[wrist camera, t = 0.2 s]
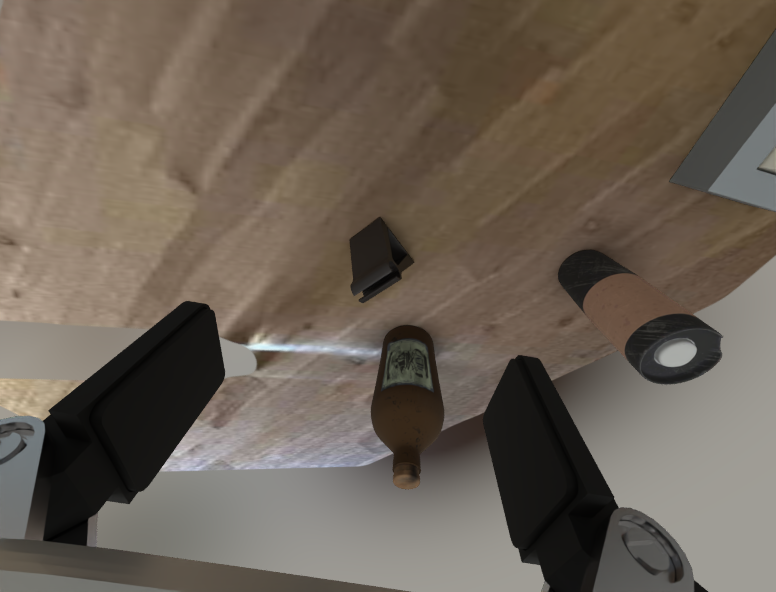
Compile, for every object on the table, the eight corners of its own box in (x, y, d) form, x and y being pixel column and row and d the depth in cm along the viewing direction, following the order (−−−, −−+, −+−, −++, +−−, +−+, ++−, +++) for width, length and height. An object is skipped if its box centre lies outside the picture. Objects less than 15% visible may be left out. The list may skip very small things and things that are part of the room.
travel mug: (546, 283, 48) (620, 373, 31) (576, 240, 45) (680, 316, 27) (587, 297, 49) (682, 393, 32) (620, 257, 45) (748, 341, 28)
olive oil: (435, 366, 59) (449, 508, 37) (381, 365, 60) (365, 503, 38) (437, 322, 54) (455, 458, 32) (378, 321, 54) (357, 453, 33)
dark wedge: (414, 261, 48) (415, 300, 38) (384, 280, 50) (377, 322, 40) (380, 216, 45) (371, 245, 34) (349, 238, 47) (332, 272, 36)
